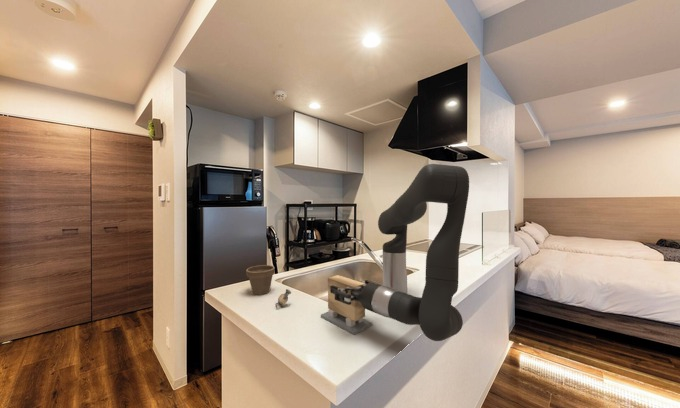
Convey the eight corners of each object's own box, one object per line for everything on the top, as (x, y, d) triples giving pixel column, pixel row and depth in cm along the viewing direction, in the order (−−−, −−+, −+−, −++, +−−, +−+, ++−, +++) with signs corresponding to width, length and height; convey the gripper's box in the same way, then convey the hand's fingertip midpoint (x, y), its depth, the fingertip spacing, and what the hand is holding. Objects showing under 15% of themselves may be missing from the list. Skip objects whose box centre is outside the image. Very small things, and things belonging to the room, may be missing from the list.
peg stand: (338, 309, 87) (338, 301, 87) (372, 325, 76) (372, 315, 76) (320, 317, 82) (320, 308, 82) (353, 334, 71) (353, 325, 71)
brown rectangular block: (338, 304, 85) (337, 275, 84) (365, 316, 76) (364, 283, 76) (328, 308, 82) (327, 277, 81) (354, 321, 73) (354, 287, 73)
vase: (290, 302, 94) (290, 286, 94) (292, 309, 89) (292, 292, 89) (275, 303, 92) (275, 288, 92) (276, 311, 87) (277, 294, 87)
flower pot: (247, 288, 108) (246, 265, 108) (274, 286, 112) (274, 263, 112) (245, 298, 97) (245, 273, 97) (275, 295, 101) (275, 270, 101)
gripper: (396, 280, 73) (356, 269, 85) (364, 292, 63) (323, 278, 75) (396, 305, 73) (356, 291, 85) (364, 322, 63) (323, 303, 75)
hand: (341, 285), depth 80 cm, fingers open, 8 cm apart
